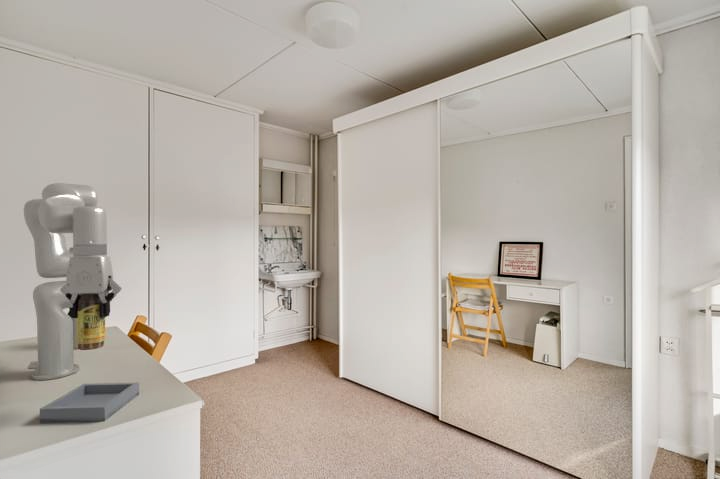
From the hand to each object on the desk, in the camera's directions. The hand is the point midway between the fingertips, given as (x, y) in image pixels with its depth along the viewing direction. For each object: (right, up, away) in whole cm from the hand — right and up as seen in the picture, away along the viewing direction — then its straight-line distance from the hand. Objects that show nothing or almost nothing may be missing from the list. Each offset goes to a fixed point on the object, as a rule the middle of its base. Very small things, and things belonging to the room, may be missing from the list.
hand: (91, 316), depth 103 cm
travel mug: (-46, -25, +58) cm, 78 cm away
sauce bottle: (0, -9, 0) cm, 9 cm away
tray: (0, -25, 0) cm, 25 cm away
